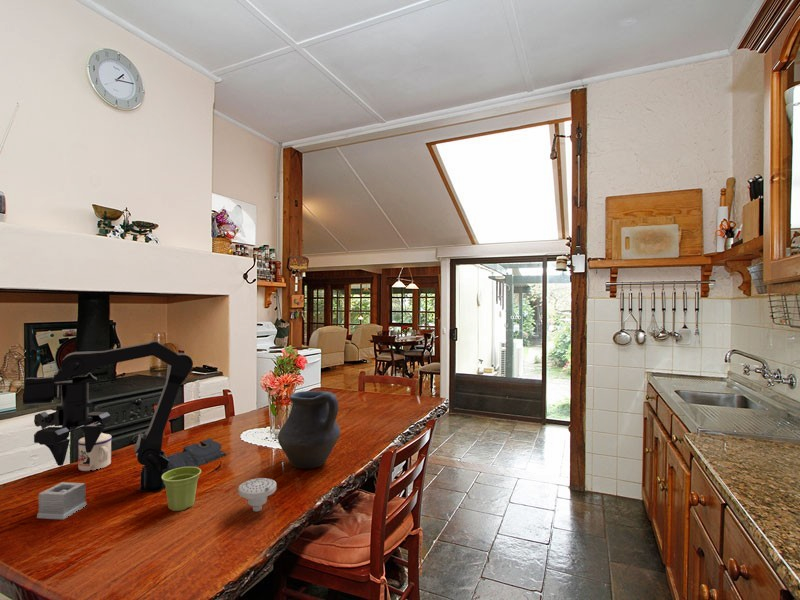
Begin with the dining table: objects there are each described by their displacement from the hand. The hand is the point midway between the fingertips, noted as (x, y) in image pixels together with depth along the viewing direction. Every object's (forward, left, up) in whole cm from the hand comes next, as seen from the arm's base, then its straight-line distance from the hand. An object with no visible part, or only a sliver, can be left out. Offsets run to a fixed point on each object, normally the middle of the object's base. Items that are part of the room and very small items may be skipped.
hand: (75, 458), depth 112 cm
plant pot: (-28, -2, -12) cm, 31 cm away
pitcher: (-54, -34, -12) cm, 65 cm away
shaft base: (0, +4, -12) cm, 13 cm away
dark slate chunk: (-13, -33, -13) cm, 38 cm away
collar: (0, +4, -11) cm, 12 cm away
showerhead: (-49, -2, -12) cm, 51 cm away
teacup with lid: (+14, -24, -12) cm, 30 cm away
